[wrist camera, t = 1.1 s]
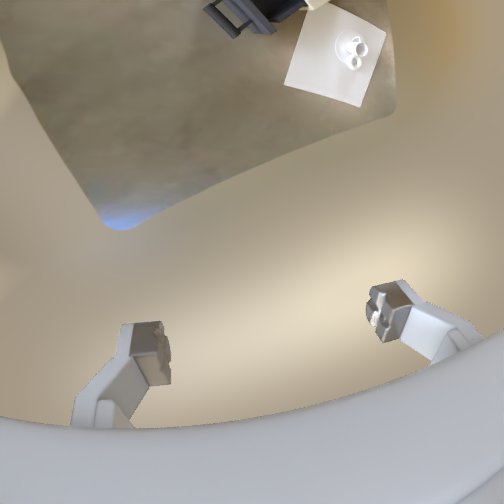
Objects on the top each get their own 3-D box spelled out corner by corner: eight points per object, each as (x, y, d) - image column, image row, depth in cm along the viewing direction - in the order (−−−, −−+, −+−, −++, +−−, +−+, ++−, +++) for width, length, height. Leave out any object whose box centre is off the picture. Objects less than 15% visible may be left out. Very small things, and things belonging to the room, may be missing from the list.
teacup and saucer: (357, 72, 52) (369, 76, 49) (328, 60, 49) (339, 64, 46) (369, 38, 47) (381, 41, 44) (340, 23, 44) (352, 25, 41)
